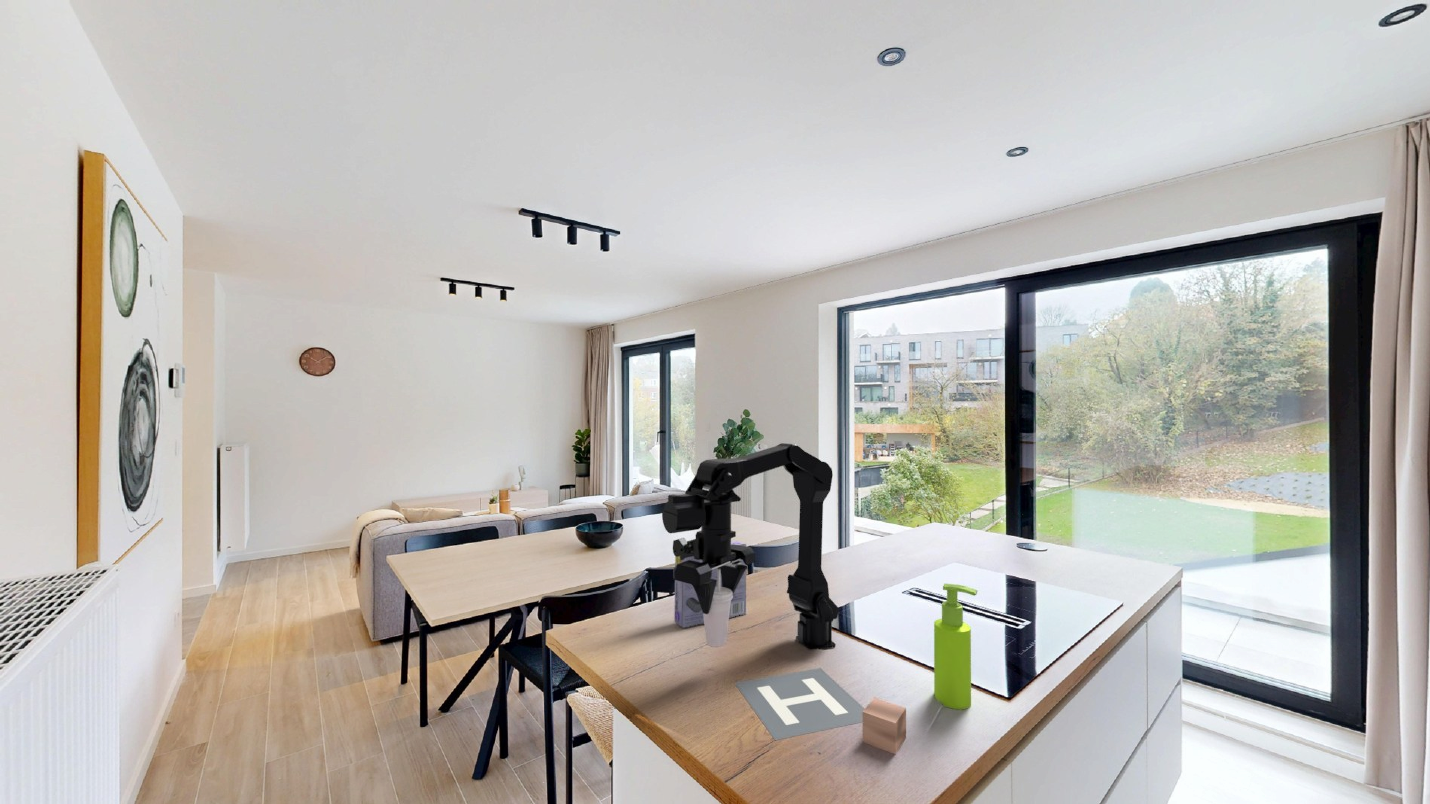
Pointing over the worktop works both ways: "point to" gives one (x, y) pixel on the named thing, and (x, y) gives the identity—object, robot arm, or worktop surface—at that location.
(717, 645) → the smoothie
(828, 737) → the worktop surface
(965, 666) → the soap dispenser
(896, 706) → the terracotta block
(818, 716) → the board
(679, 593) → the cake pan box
